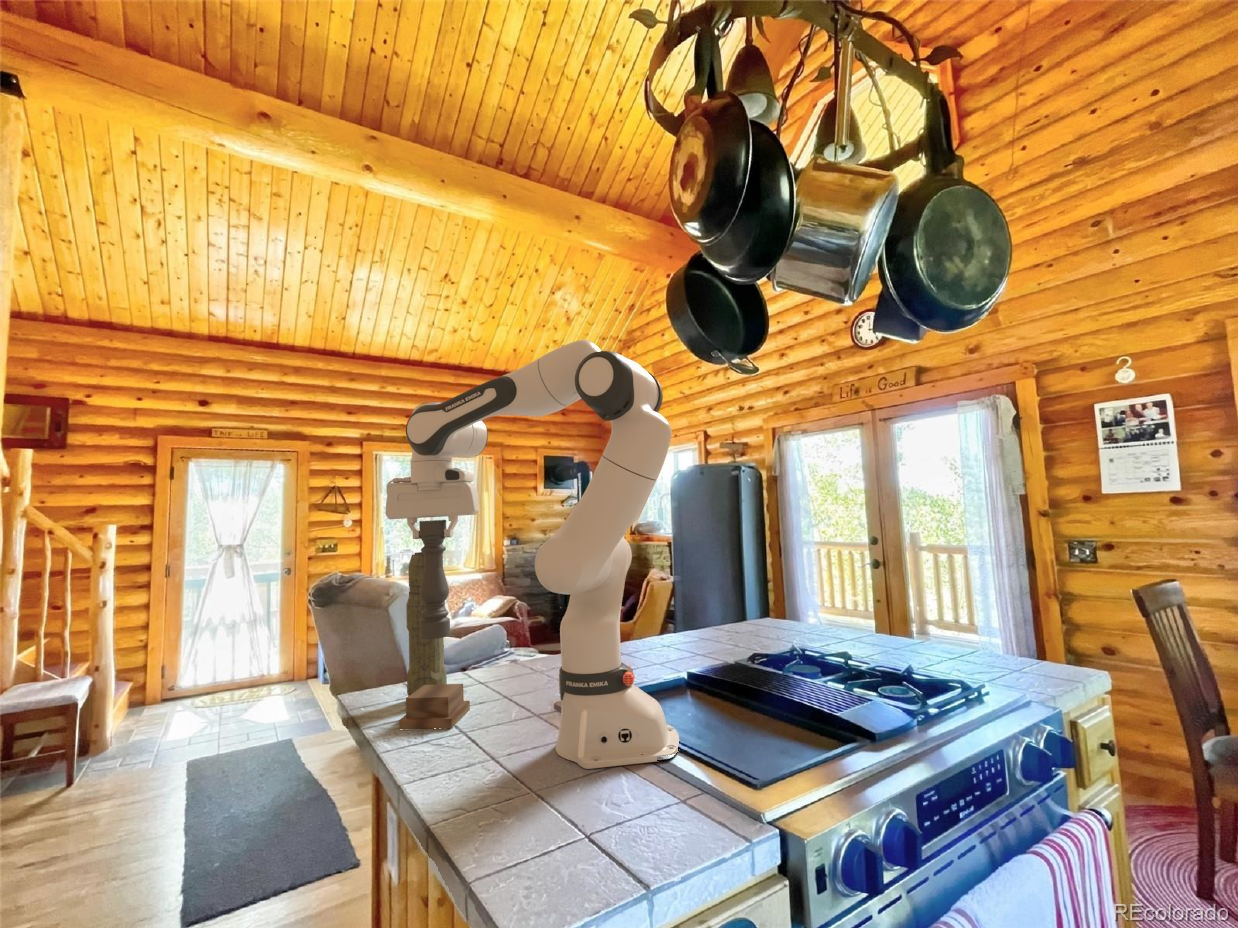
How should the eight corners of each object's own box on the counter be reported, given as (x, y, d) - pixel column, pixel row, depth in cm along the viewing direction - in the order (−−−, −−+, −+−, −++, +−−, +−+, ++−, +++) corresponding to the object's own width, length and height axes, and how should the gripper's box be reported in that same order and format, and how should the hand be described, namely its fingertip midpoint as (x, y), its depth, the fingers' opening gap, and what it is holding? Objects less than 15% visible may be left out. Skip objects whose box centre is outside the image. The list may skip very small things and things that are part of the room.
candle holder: (432, 640, 115) (430, 520, 118) (414, 638, 119) (411, 521, 121) (456, 634, 120) (453, 519, 123) (437, 632, 124) (435, 520, 126)
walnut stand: (469, 709, 123) (469, 682, 123) (451, 728, 112) (451, 698, 113) (421, 711, 124) (421, 683, 124) (399, 730, 113) (398, 700, 113)
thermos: (428, 711, 124) (425, 553, 127) (395, 703, 130) (393, 554, 133) (459, 699, 131) (455, 550, 134) (426, 692, 137) (424, 551, 141)
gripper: (379, 477, 120) (380, 541, 119) (471, 472, 119) (473, 536, 118) (393, 479, 126) (394, 539, 125) (480, 474, 125) (482, 535, 124)
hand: (433, 538), depth 121 cm, fingers closed on candle holder, 6 cm apart
